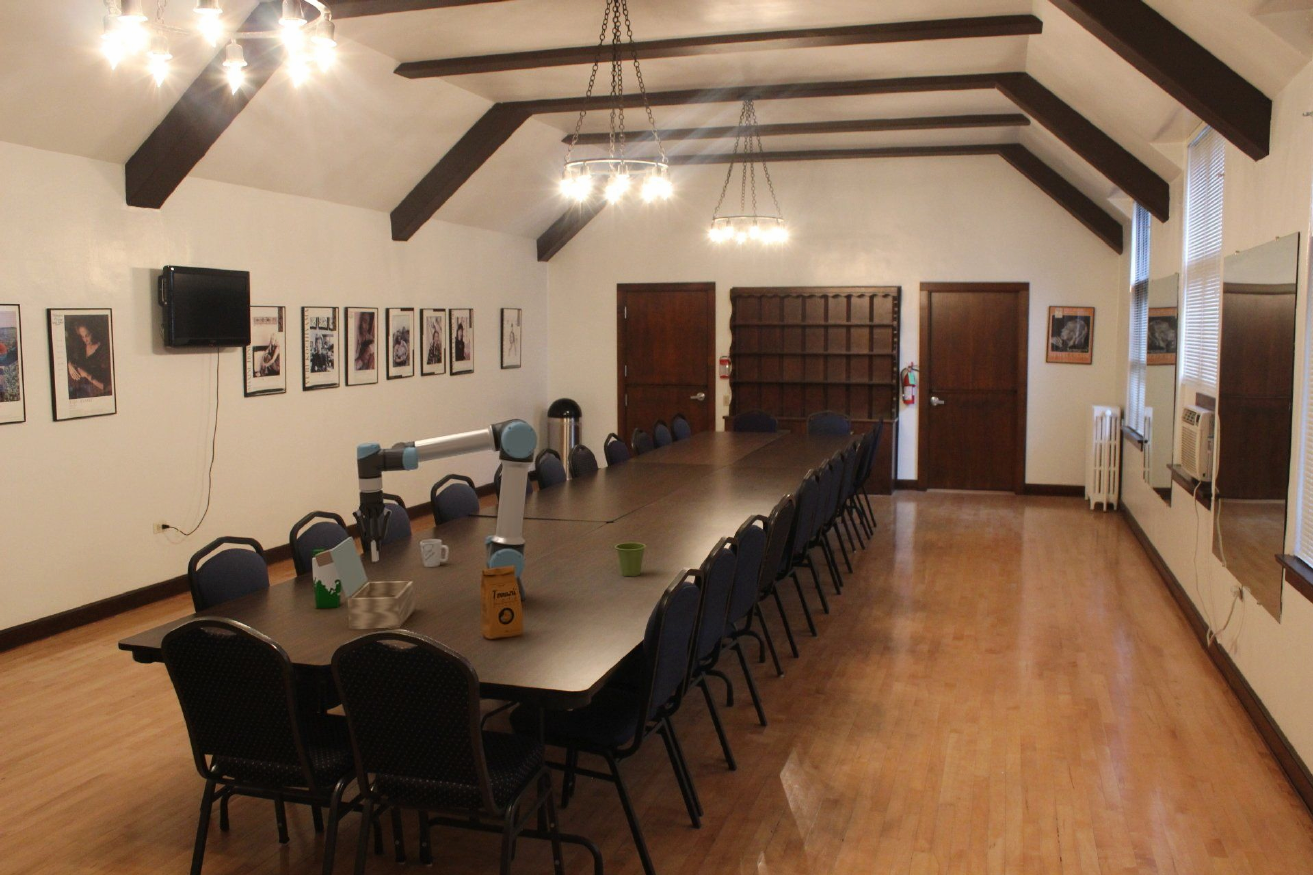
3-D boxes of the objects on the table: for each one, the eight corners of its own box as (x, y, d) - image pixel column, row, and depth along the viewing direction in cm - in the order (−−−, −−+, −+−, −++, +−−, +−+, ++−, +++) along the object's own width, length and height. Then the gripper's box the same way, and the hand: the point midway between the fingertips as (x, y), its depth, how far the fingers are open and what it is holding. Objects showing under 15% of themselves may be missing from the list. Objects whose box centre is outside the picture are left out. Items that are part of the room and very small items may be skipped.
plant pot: (610, 576, 400) (609, 547, 399) (625, 569, 411) (624, 541, 409) (637, 579, 395) (636, 550, 393) (651, 572, 405) (651, 544, 404)
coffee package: (526, 637, 326) (523, 568, 323) (486, 642, 321) (484, 572, 318) (517, 628, 335) (515, 561, 332) (479, 634, 330) (476, 565, 327)
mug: (452, 563, 428) (451, 538, 427) (446, 567, 419) (445, 543, 418) (425, 562, 429) (424, 538, 428) (418, 567, 421) (417, 543, 419)
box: (414, 609, 360) (413, 581, 358) (398, 628, 338) (397, 598, 337) (368, 610, 360) (366, 581, 359) (349, 629, 338) (347, 599, 337)
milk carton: (317, 603, 370) (313, 547, 368) (343, 601, 372) (340, 546, 370) (313, 609, 362) (309, 553, 360) (340, 608, 363) (337, 551, 361)
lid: (351, 536, 356) (325, 544, 357) (332, 550, 335) (304, 558, 336) (367, 580, 358) (341, 588, 358) (349, 596, 337) (321, 605, 338)
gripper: (393, 487, 347) (398, 557, 350) (354, 488, 348) (359, 558, 350) (387, 491, 340) (392, 562, 343) (347, 492, 340) (352, 563, 343)
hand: (375, 560), depth 347 cm, fingers closed
